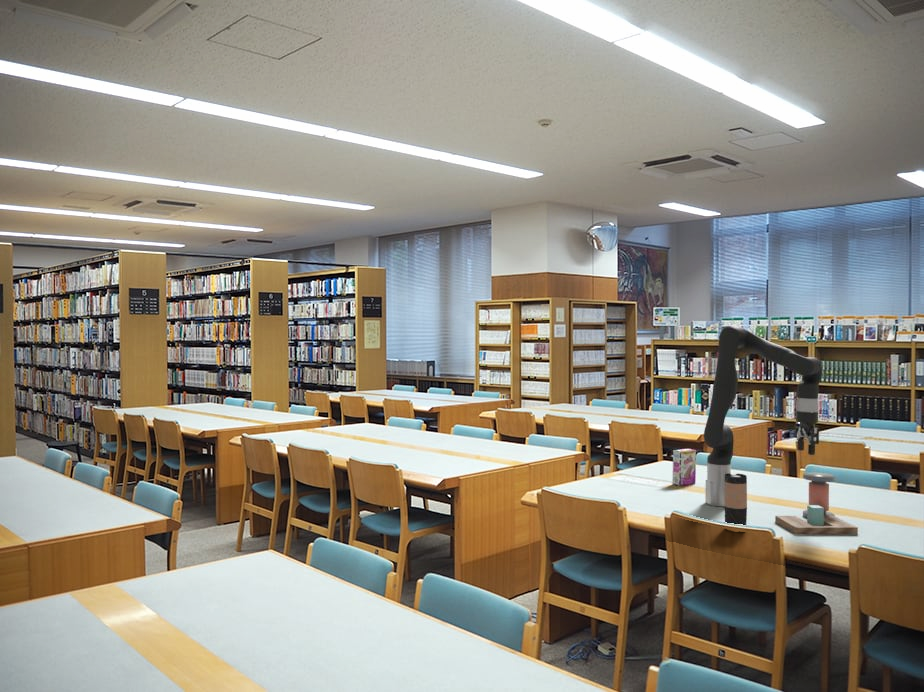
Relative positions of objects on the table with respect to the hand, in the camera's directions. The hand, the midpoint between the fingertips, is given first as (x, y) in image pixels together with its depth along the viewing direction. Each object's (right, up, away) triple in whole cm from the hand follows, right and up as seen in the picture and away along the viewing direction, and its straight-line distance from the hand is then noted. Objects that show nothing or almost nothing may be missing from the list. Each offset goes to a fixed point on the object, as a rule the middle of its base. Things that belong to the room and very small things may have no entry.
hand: (805, 452), depth 259 cm
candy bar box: (-24, -26, +67) cm, 76 cm away
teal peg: (-1, -27, -8) cm, 28 cm away
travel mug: (-31, -27, -10) cm, 42 cm away
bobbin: (+8, -26, +7) cm, 28 cm away
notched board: (-1, -27, -8) cm, 28 cm away
